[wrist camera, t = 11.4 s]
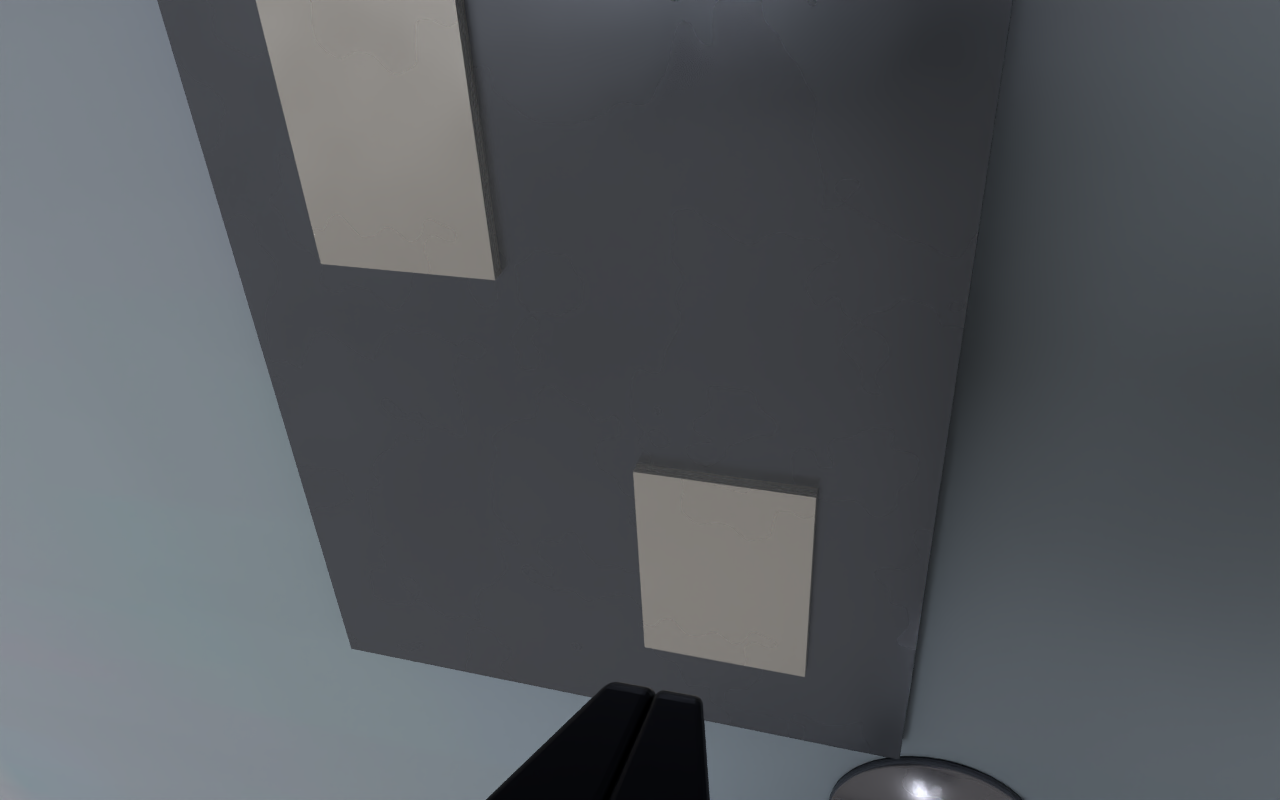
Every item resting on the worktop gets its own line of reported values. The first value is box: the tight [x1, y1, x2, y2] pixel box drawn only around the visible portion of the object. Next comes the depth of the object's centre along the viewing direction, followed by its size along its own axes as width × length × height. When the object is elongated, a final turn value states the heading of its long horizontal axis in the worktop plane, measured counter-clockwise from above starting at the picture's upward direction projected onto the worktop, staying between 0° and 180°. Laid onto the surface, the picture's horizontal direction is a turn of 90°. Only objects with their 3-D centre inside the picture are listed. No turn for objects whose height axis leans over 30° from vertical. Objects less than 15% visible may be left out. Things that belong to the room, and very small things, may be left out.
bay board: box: [157, 0, 1013, 760], centre depth 20 cm, size 18×14×1 cm
